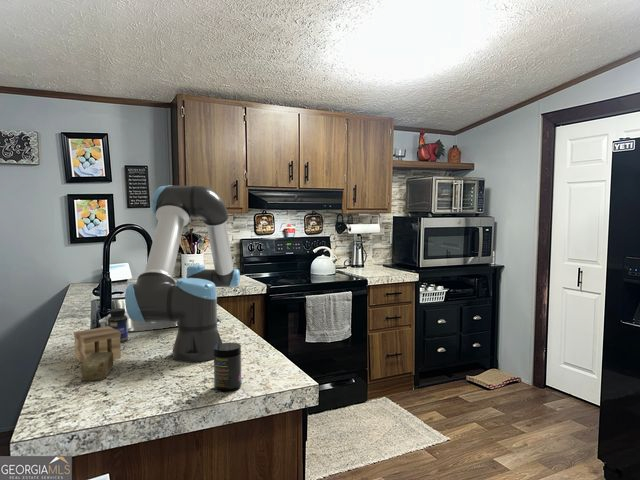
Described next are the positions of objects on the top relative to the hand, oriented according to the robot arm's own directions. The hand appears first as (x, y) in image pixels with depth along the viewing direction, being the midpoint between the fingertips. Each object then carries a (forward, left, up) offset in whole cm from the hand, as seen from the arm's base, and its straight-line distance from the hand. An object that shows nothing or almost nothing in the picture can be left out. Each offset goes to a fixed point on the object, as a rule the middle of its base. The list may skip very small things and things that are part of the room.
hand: (137, 317), depth 157 cm
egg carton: (+23, +1, -7) cm, 24 cm away
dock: (-17, +19, -6) cm, 26 cm away
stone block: (-31, +23, -7) cm, 40 cm away
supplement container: (-65, +4, -7) cm, 65 cm away
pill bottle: (-3, +8, -7) cm, 11 cm away
